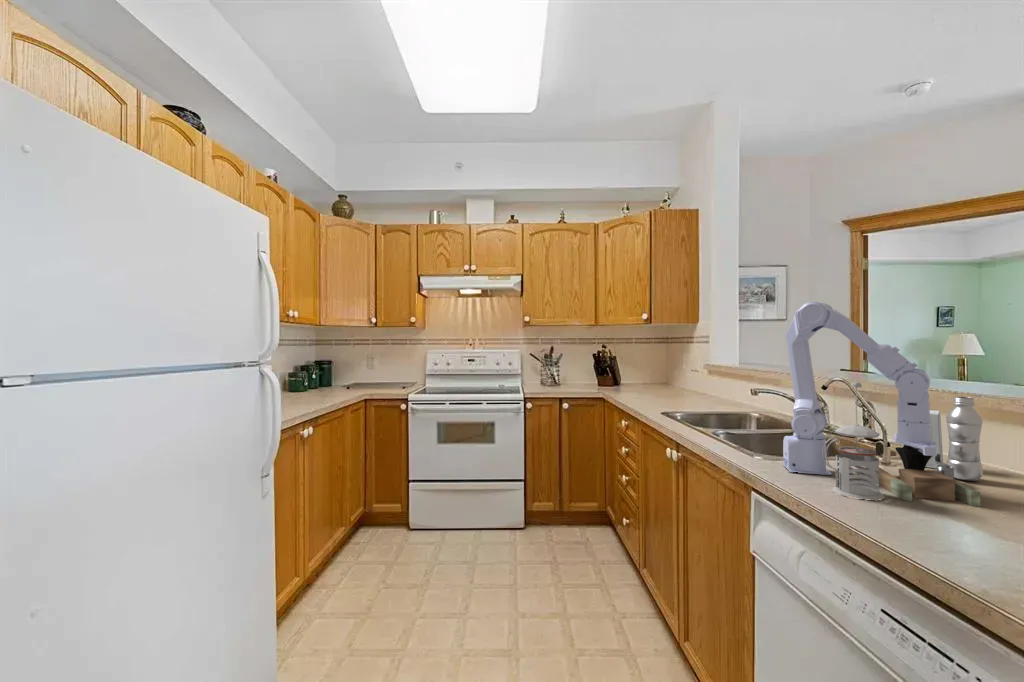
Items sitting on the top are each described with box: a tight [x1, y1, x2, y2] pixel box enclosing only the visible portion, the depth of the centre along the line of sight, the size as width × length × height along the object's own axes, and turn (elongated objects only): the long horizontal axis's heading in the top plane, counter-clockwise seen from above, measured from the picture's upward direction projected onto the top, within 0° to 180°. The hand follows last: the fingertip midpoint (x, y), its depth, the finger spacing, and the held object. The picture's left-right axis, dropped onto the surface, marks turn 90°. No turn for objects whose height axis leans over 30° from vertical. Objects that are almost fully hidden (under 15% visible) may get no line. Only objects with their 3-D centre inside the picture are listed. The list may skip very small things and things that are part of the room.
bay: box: [879, 467, 981, 507], centre depth 107 cm, size 13×18×3 cm
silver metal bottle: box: [945, 396, 984, 482], centre depth 114 cm, size 6×7×20 cm
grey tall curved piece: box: [822, 381, 886, 500], centre depth 105 cm, size 10×12×25 cm
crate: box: [898, 468, 956, 502], centre depth 104 cm, size 7×7×4 cm
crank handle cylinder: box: [935, 454, 955, 479], centre depth 112 cm, size 3×5×6 cm, turn 162°
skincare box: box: [901, 409, 944, 470], centre depth 128 cm, size 8×6×15 cm
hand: (914, 479), depth 109 cm, fingers closed
